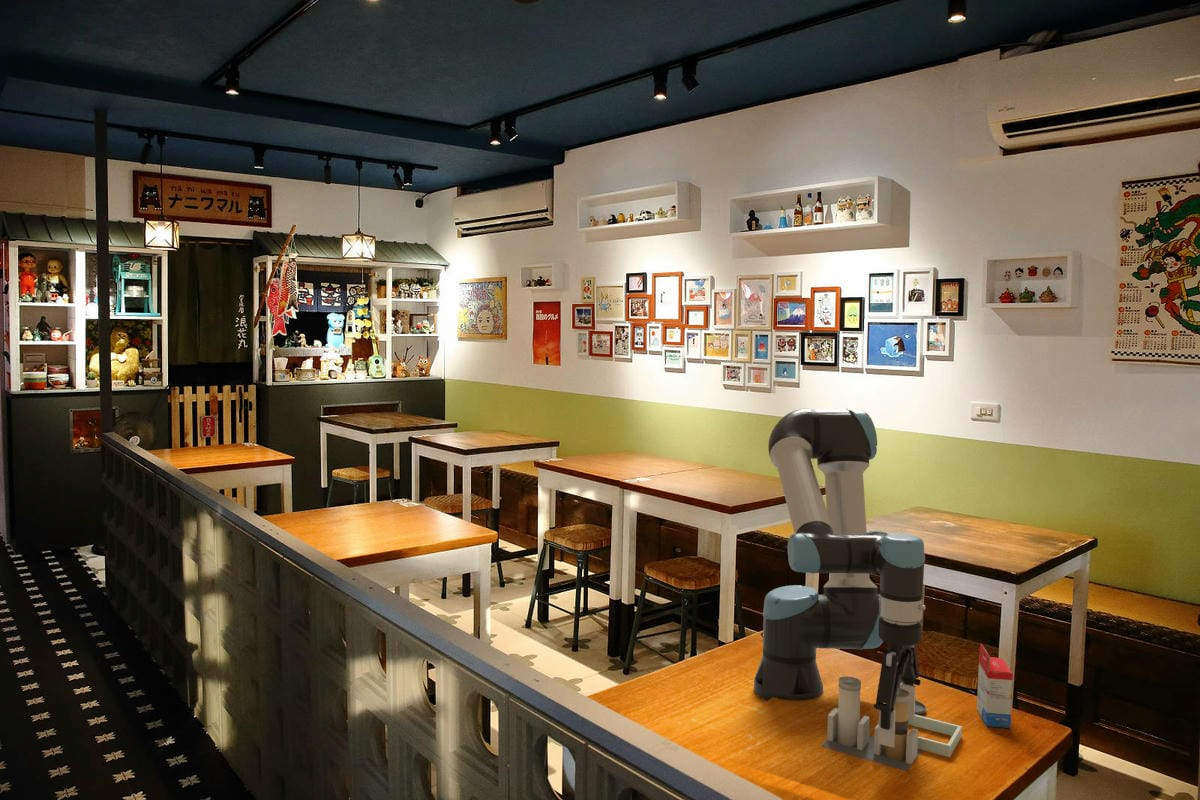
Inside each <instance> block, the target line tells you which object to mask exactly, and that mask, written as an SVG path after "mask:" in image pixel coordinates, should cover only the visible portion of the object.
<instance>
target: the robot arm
mask: <svg viewBox="0 0 1200 800" xmlns="http://www.w3.org/2000/svg"><path fill="white" fill-rule="evenodd" d="M877 436H878V435H877V430H876V427H875V423H874V422H873V420H872V417H871V416H870V414H868V413H867V412H866V411H864V410H860V409H850V408H832V409H831V408H826V409H825V408H821V409H819V408H816V409H815V408H814V409H812V408H811V409H810V408H799V409H795V410H793V411H791V412H789V413H787V414H786V415H784V416H783V417H782V418H780V419H779V420H778V421H777V423H776V424H775V425H774V427H773V429H772V431H771V433H770V435H769V439H768V447H767V448H768V455H769V458H770V462H771V463H772V465H773V466H774V467H775V468H776V469H777V472H778V475H779V480H780V484H781V486H782V491H783V495H784V499H785V502H786V506H787V510H788V514H789V517H790V522H791V525H792V529H793V534H791V535H790V536H789V537H788V541H787V556H788V557H787V560H788V564H789V568H790V569H791V570H792V571H794V572H797V573H808V574H814V575H815V574H829V579H828V581H827V582H826V583H824V585H823V594H819V592H818V590H817V589H816V588H814V587H813V586H808V585H801V584H800V585H799V584H797V585H796V584H794V585H785V586H780V587H777V588H774V589H772V590H771V591H769V592H768V593H767V594H766V595H765V597H764V602H763V612H762V616H763V623H762V626H763V627H762V631H763V632H762V656H761V660H760V663H759V665H758V667H757V670H756V673H755V676H754V679H753V691H754V690H755V691H754V693H755V692H756V693H755V694H756V696H758V695H759V696H760V697H759V696H758V697H759V698H760V699H762V698H763V700H764V699H765V701H766V700H767V701H766V702H769V701H771V699H772V698H774V699H778V700H783V701H798V702H799V701H809V700H813V699H815V698H818V697H821V695H822V694H823V693H824V684H823V681H822V678H821V677H822V676H821V673H820V670H819V667H818V663H817V659H816V658H817V650H818V649H832V650H833V649H837V650H838V649H839V650H840V649H842V650H845V649H846V650H850V649H852V650H861V651H862V650H863V649H864V650H866V649H867V650H869V649H876V648H879V647H880V646H881V645H882V643H884V642H886V644H888V648H887V649H886V650H885V652H883V653H882V655H881V669H880V674H879V680H878V686H877V691H876V692H877V693H876V699H875V703H874V704H873V708H874V709H875V710H876V711H877V710H878V723H879V726H878V744H882V745H886V746H889V747H894V743H895V712H896V711H895V710H894V705H895V701H896V696H897V691H898V687H899V682H900V678H901V679H902V682H904V683H901V684H900V688H901V689H904V690H906V691H908V692H909V713H908V719H909V720H914V718H915V697H916V689H917V688H916V686H920V685H921V679H919V677H920V671H919V662H918V654H917V646H916V645H919V644H920V643H921V642H922V635H923V634H922V633H923V631H922V630H923V623H922V622H921V620H923V611H925V610H926V605H925V604H923V599H924V598H923V597H924V575H925V574H924V573H925V562H926V555H925V543H924V541H923V539H922V537H919V536H917V535H914V534H913V535H912V534H908V533H901V532H900V533H898V532H895V533H887V532H885V531H882V530H871V531H869V532H867V531H868V530H867V519H866V516H867V515H866V501H865V500H866V499H865V484H864V482H865V481H864V473H865V471H866V470H867V469H868V468H869V467H870V461H871V460H874V458H875V457H876V455H877V451H878V448H877V446H878V437H877ZM812 459H813V460H815V459H816V461H817V464H816V465H817V468H818V470H820V471H821V472H822V474H824V485H825V501H824V498H823V494H822V492H821V488H820V485H819V481H818V478H817V475H816V472H815V468H814V466H813V462H812ZM870 574H871V575H872V574H876V575H878V576H879V593H878V586H877V585H876V584H875V583H874V582H873V581H872V580H871V578H870Z"/></svg>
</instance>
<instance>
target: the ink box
mask: <svg viewBox="0 0 1200 800" xmlns="http://www.w3.org/2000/svg"><path fill="white" fill-rule="evenodd" d="M977 671H978V672H977V673H978V675H977V676H978V677H977V679H978V680H977V698H976V699H977V700H976V701H977V702H976V710H977V712H978V713H979V715H980V717H981V719H982V721H983V723H984V724H985V726H986V727H995V728H1004V729H1005V728H1006V729H1011V728H1012V727H1011V726H1012V693H1013V674H1014V673H1013V671H1012V670H1011V669H1010V667H1009V666H1008V664H1007V663H1006V662H1005V661H1004V659H1003V658H1001V657H995V656H994V657H993V656H990V654H989V653H988V651H987V650H986V649H985V647H984V645H983V643H980V645H979V654H978V670H977Z"/></svg>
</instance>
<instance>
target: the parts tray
mask: <svg viewBox="0 0 1200 800" xmlns="http://www.w3.org/2000/svg"><path fill="white" fill-rule="evenodd" d="M908 726H912V727H916V728H920V729H924V730H928V731H931V732H936V733H939V734H944V735H948V736H950V739H949V741H948V742H947V743H945V742H941V741H937V740H934V739H929V738H927V737H922V736H919V735H918V746H917V748H918V749H922V750H921V751H925V752H929V753H932V754H936V755H940V756H944V757H947V758H951V756H952V754H953V753H954V751H955V749H956V748H957V746H958V744H959V742H960V740H961V739H962V735H963V734H962V732H963V731H962V729H963V726H962V725H957V724H954V723H949V722H945V721H942V720H938V719H935V718H930V717H926V716H922V715H920V714H918V715H915V718H914V720H909V721H908Z"/></svg>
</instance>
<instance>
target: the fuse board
mask: <svg viewBox="0 0 1200 800" xmlns="http://www.w3.org/2000/svg"><path fill="white" fill-rule="evenodd" d="M878 726H879V722H878V723H877V725H876V726H875V727H874V735H870V716H867V715H864V716H863V717H862V718H860V720H859V722H858V733H857V745H856V746H846V745H842V744H840V743H839V742H838V741H837V730H838V707H836V708H835V707H834V708H833V709H832V710H831V711H830V712H829V713H828V714H827V733H826V734H827V736H826V738H827V739H826V740H825V742H823V744H822V745H821V747H822V748H826V749H828V750H833V751H836V752H840V753H843V754H845V755H849V756H852V757H853V756H854V757H857V758H860V759H862V760H867V761H870V762H874V763H875V764H876V763H877V764H880V765H883V766H887V767H890V768H894V769H897V770H901V771H904V772H908V771H909V770H910V769H911V767H912V765H913V764H914V762H915V761H916V760H917V758H918V757H919V755H920V754H921V752H922V751H923V750H922V749H918V748H917V746H918V736H919V729H917V728H913V727H912V728H911V730H910V731H908V735H907V743H906V759H903V760H895V759H891V758H889V757H887V756H886V755H885V754H884V745H882V744H878Z"/></svg>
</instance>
